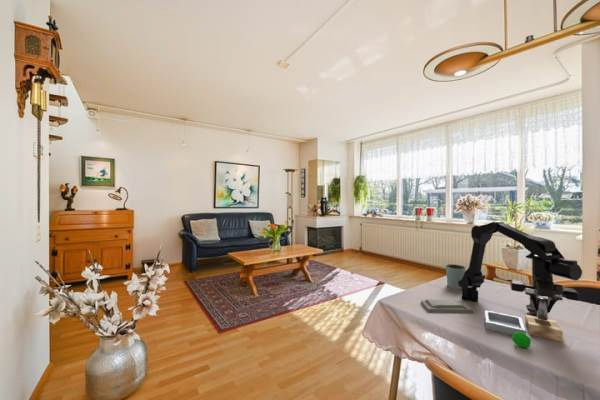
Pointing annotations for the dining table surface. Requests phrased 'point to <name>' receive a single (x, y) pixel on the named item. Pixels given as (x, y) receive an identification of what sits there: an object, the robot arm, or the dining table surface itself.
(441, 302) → the grey stepped plate
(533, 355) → the dining table surface
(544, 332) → the square wooden frame
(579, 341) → the dining table surface
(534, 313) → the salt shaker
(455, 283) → the grey-blue cylindrical pot
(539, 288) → the robot arm
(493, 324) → the tray
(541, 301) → the pin
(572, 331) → the dining table surface
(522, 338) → the green ball
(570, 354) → the dining table surface
